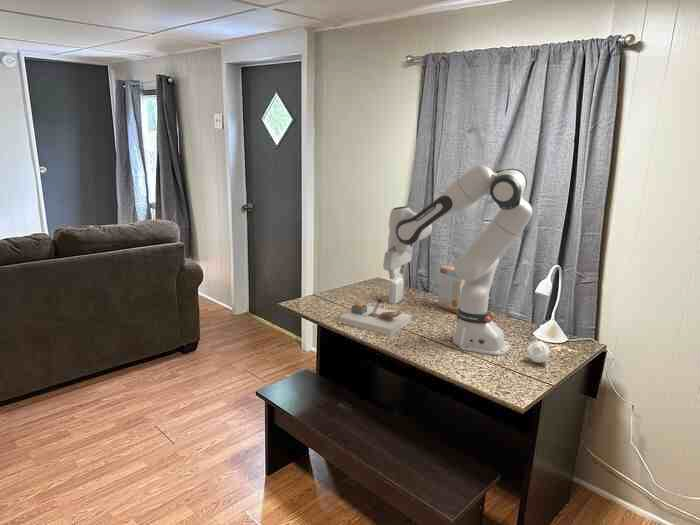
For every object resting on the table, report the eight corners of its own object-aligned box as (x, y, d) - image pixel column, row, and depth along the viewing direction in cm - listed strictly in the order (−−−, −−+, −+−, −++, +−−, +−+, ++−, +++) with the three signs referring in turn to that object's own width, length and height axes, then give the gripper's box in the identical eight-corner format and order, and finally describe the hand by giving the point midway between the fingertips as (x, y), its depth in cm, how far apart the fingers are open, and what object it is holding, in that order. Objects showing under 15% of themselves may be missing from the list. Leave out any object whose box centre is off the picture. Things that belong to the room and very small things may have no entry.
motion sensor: (523, 361, 181) (525, 342, 180) (530, 355, 187) (532, 336, 185) (544, 368, 177) (547, 348, 175) (551, 361, 182) (554, 342, 180)
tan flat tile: (401, 313, 212) (400, 311, 212) (396, 317, 208) (395, 314, 208) (383, 314, 217) (382, 312, 217) (378, 317, 213) (377, 315, 213)
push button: (364, 307, 221) (364, 303, 220) (360, 309, 218) (360, 305, 217) (358, 305, 222) (358, 301, 222) (354, 307, 220) (354, 303, 219)
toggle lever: (376, 313, 217) (383, 299, 213) (374, 314, 215) (381, 301, 212) (372, 311, 218) (380, 297, 214) (370, 312, 216) (377, 298, 213)
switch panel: (410, 321, 219) (411, 309, 217) (390, 336, 202) (391, 322, 201) (361, 310, 232) (361, 298, 230) (339, 322, 215) (339, 310, 214)
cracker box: (466, 312, 231) (470, 270, 226) (458, 315, 228) (461, 272, 223) (445, 304, 243) (448, 264, 237) (437, 306, 239) (440, 265, 234)
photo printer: (396, 297, 251) (397, 275, 247) (403, 299, 248) (405, 276, 245) (387, 303, 242) (388, 279, 239) (395, 305, 240) (396, 281, 237)
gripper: (394, 250, 193) (392, 283, 196) (415, 241, 210) (413, 272, 213) (380, 248, 196) (379, 280, 200) (402, 239, 213) (400, 269, 216)
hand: (397, 276), depth 207 cm, fingers open, 8 cm apart
